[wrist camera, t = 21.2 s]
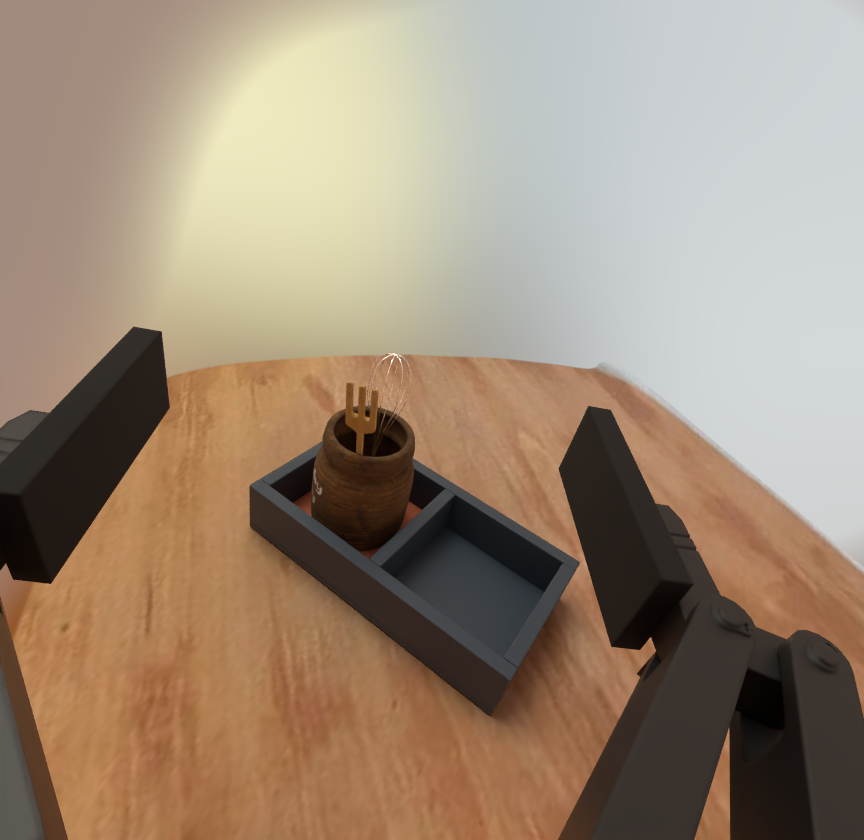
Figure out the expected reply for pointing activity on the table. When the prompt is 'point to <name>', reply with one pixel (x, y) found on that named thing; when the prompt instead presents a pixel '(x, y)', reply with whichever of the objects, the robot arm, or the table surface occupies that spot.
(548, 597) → the tray
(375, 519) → the utensil holder
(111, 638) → the table surface
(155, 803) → the table surface
